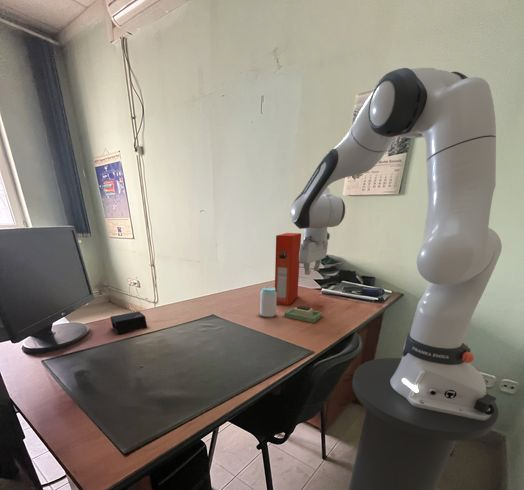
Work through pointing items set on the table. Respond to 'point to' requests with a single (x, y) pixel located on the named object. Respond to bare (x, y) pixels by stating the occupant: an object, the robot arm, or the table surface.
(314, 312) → the tray
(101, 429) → the table surface
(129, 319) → the electronic device
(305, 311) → the cream rectangular box
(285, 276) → the file binder
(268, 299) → the can
